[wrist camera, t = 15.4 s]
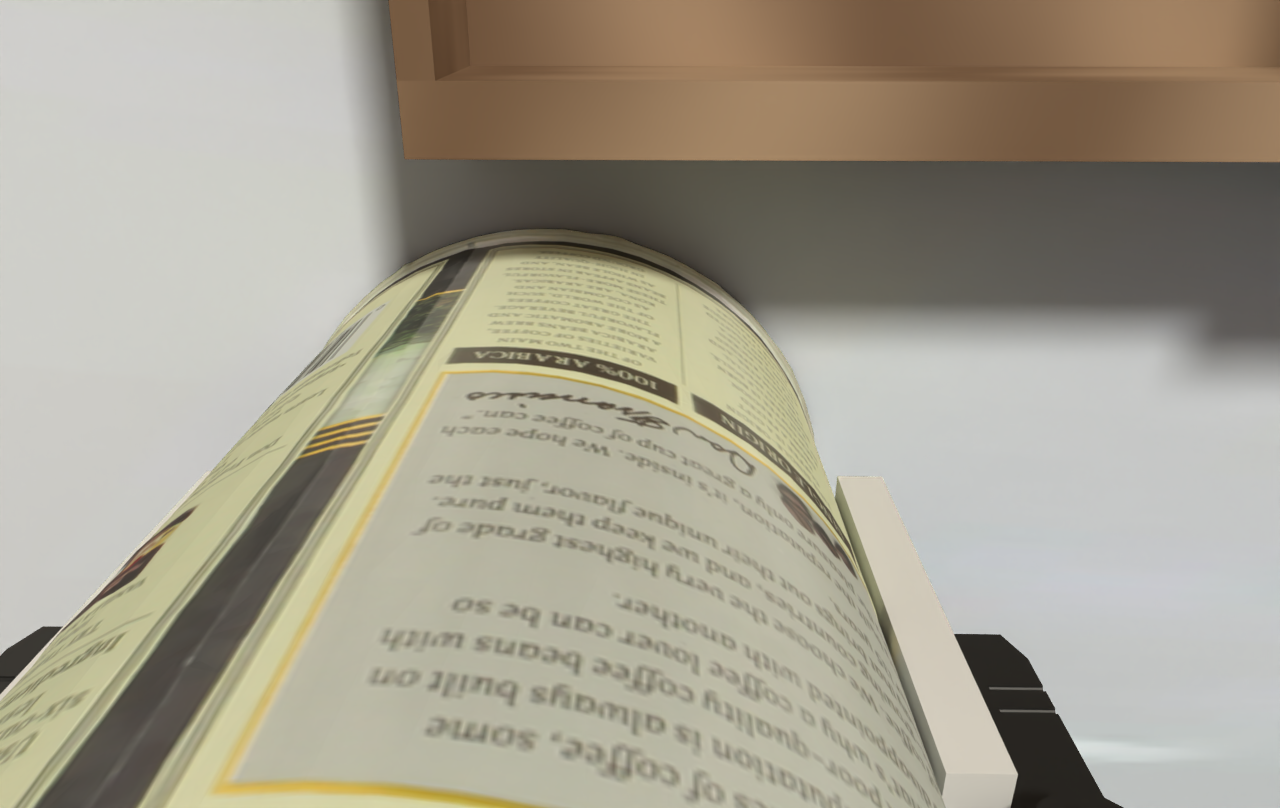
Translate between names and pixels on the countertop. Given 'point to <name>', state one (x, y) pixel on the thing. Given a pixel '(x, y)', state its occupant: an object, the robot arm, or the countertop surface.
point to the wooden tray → (839, 80)
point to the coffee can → (493, 574)
